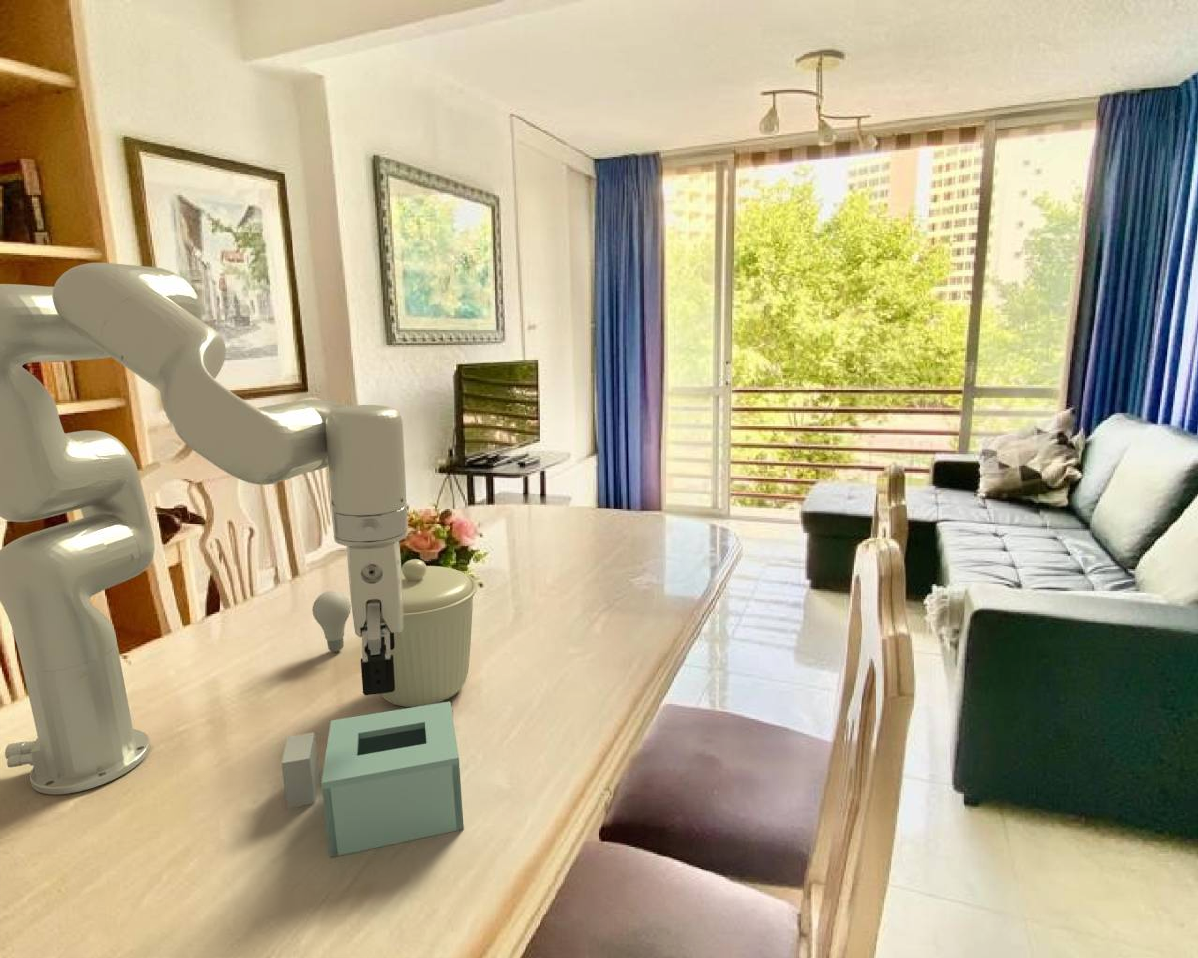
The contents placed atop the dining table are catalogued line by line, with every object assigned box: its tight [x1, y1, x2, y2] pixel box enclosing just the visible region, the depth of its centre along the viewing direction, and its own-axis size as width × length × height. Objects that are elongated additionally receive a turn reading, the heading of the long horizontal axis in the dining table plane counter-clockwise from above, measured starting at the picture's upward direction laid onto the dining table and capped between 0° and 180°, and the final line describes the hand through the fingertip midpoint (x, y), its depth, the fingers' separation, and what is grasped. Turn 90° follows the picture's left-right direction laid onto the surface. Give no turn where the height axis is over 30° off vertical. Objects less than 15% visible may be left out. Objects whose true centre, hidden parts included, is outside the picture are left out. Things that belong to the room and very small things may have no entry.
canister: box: [380, 558, 478, 708], centre depth 104 cm, size 18×18×21 cm
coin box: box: [320, 701, 465, 858], centre depth 80 cm, size 14×12×9 cm
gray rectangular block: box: [280, 732, 320, 809], centre depth 83 cm, size 6×3×6 cm, turn 16°
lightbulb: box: [312, 590, 352, 653], centre depth 118 cm, size 6×6×11 cm
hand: (380, 669), depth 77 cm, fingers open, 9 cm apart
